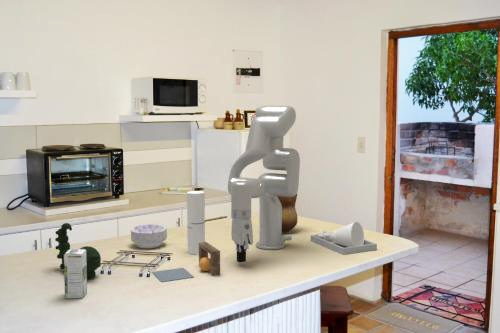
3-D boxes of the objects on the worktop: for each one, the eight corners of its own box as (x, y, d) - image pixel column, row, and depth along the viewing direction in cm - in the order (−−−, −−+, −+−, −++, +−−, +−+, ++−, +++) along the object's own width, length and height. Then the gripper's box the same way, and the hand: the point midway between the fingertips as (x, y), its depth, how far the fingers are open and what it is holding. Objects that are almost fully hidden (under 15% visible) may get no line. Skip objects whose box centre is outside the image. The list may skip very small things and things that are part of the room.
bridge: (206, 264, 205) (206, 241, 204) (220, 274, 192) (220, 250, 191) (198, 265, 204) (198, 242, 203) (212, 275, 191) (212, 251, 190)
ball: (211, 264, 200) (206, 253, 199) (216, 267, 196) (211, 256, 194) (200, 271, 199) (194, 260, 197) (205, 275, 194) (199, 264, 193)
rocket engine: (317, 220, 237) (353, 216, 226) (329, 233, 244) (365, 230, 233) (311, 243, 231) (349, 240, 220) (324, 256, 238) (361, 254, 227)
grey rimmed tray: (341, 236, 248) (342, 231, 248) (376, 249, 225) (376, 244, 225) (310, 240, 240) (310, 235, 240) (343, 254, 218) (343, 248, 218)
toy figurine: (51, 275, 197) (88, 284, 180) (46, 224, 196) (83, 228, 179) (74, 269, 204) (112, 277, 187) (70, 220, 203) (108, 223, 186)
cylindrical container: (202, 254, 218) (201, 193, 215) (185, 253, 219) (184, 193, 216) (207, 250, 225) (206, 191, 222) (190, 249, 226) (190, 190, 223)
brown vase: (298, 235, 251) (298, 182, 248) (269, 235, 251) (269, 182, 248) (296, 228, 265) (296, 178, 262) (269, 228, 265) (269, 178, 262)
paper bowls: (142, 252, 221) (142, 233, 220) (124, 245, 232) (124, 227, 232) (173, 246, 231) (173, 228, 230) (155, 239, 242) (154, 222, 242)
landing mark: (183, 268, 200) (183, 267, 200) (194, 277, 189) (194, 276, 189) (151, 272, 195) (151, 271, 195) (161, 282, 184) (161, 281, 184)
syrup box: (69, 292, 174) (67, 248, 172) (87, 292, 174) (86, 248, 172) (64, 299, 168) (62, 253, 166) (84, 298, 168) (82, 253, 167)
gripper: (259, 216, 196) (259, 265, 198) (242, 209, 210) (242, 255, 212) (240, 218, 193) (240, 268, 195) (224, 211, 206) (224, 257, 208)
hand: (241, 261), depth 203 cm, fingers closed
